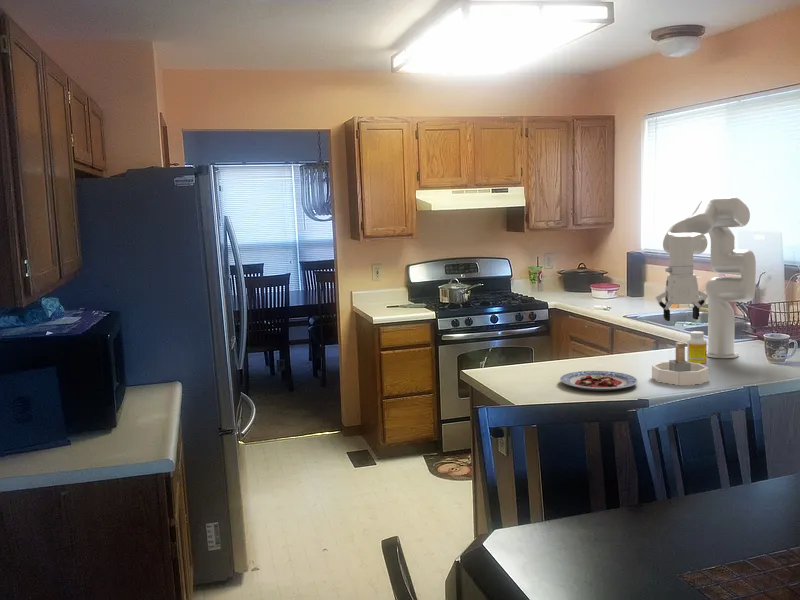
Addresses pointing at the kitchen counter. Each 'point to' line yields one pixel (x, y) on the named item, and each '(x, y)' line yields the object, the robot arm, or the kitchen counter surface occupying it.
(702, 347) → the supplement bottle
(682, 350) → the wooden block
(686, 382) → the shallow round tray
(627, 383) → the ceramic plate
